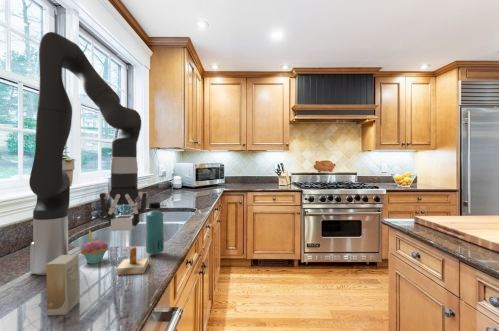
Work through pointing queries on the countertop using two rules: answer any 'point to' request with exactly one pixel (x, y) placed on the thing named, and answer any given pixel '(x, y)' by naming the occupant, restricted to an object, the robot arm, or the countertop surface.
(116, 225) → the link
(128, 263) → the keeper
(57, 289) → the skincare box
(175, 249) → the countertop surface
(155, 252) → the beverage bottle
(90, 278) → the countertop surface
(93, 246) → the cupcake
